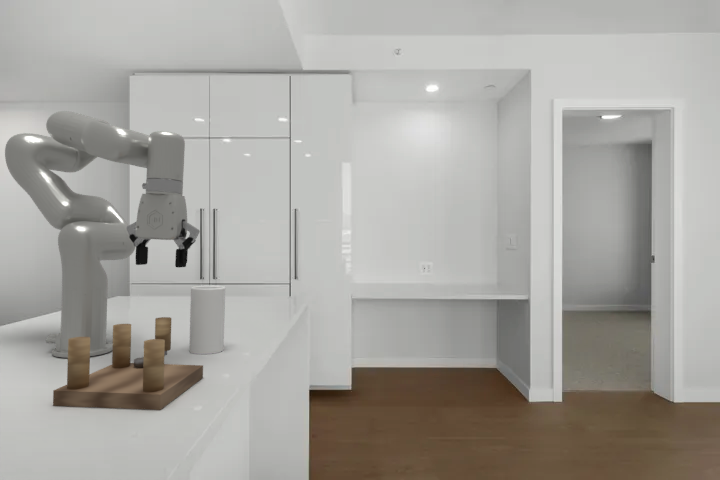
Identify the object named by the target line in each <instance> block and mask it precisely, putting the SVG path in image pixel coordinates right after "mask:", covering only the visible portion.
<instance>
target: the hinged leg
mask: <svg viewBox="0 0 720 480" xmlns="http://www.w3.org/2000/svg"><path fill="white" fill-rule="evenodd" d="M154 326H155V327H154V339H163V340H165V351H164V357H165V356H167V355H168V351H170V350H172V349H171V348H172V346H171V345H172V317H169V316H163V317H156V318H155V322H154ZM143 361H144V356H142V357H137V358H134V359H133V363H134V367H143Z"/></svg>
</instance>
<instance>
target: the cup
mask: <svg viewBox="0 0 720 480" xmlns="http://www.w3.org/2000/svg"><path fill="white" fill-rule="evenodd" d="M225 303H226V286H224V285H223V286H222V285H194V286H191V287H190V309H189V310H190V315H189V316H190V317H189V350H188V351H189V353H190V354H195V355H212V353H214V354H218V353H217V352H219V353H221V351H222V352H223V351H224V350H225V315H226V314H225V313H226V311H225V310H226V309H225V308H226V304H225Z"/></svg>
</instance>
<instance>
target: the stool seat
mask: <svg viewBox="0 0 720 480" xmlns="http://www.w3.org/2000/svg"><path fill="white" fill-rule="evenodd" d="M112 344H113V350H112V351H111V352H112V353H111V355H112V356H111V357H112V358H111V364H109V365H108V366H106V367H103V368H100V369H98V370H96V371H94V372H92V373H90V359H91V356H90V337H74V338H70V339H68V358H67V369H66V370H67V376H66V378H67V379H66V380H67V381H66V384H65V385H63V386H60V387H59V388H56V389H54V390H53V392H52V393H53V395H52V406H53V407H54V406H55V407H73V408H74V407H76V408H77V407H78V408H101V409H123V410H124V409H127V410H147V411H148V410H152V411H153V410H154V411H162V410H163V409H164V408H165V407H166V406H168V405H169V404H170V403H171V402H173V401H174V400H175V399H177V398H178V397H180V396H181V395H182V394H184V393H185V392H187V391H188V390H189V389H190V388H191V387H193V386H194V385H195V384H198V382H200V381H201V380H202V379H204V365H198V364H176V363H175V364H173V363H171V364H170V363H167V364H166V363H165V356H164V351H165V340H163V339H155V338H153V339H152V338H151V339H146V340H144V341H143V357H144V361H143V367H134V362H131V350H132V324H131V323H118V324H113V325H112Z"/></svg>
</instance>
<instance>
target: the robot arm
mask: <svg viewBox="0 0 720 480" xmlns="http://www.w3.org/2000/svg"><path fill="white" fill-rule="evenodd" d="M45 125H46V130H47V133H48V135H49V136H47V135H43V134H37V133H25V132H23V133H17V134H15V135H13V136H11V137H10V138H9V139H8V140H7V142H6V144H5V147H4V158H5V164H6V166H7V167H6V168H7V169H8V171H9V173H10V175H11V177H12V178H13V180H14V181H15V182H16V183H17V185H18V186H20V188H22V189H23V191H24V192H26V193H27V195H28V196H29V197H30V199H31V200H32V201H33V203H34V204H35V207H37V209H38V210H39V211H40V213H41V214H42V215H43V217H44V218H45V219H46V221H47V222H48V224H49V225H50V226H52V227H53V228H54V229H56V230H60V231H59V232H58V237H57V245H58V250H59V256H60V263H61V306H60V307H61V308H60V310H61V311H60V312H61V313H60V333H58V334H57V333H50V334H49V335H48V336H47V338H46V339H45V343H46V344H55V347H54V348H53V349H52V351H51V352H52V353H51V355H52V356H53V357H57V358H63V359H64V358H65V359H68V339H70V338H74V337H90V357H94V356H95V357H96V356H100V355H104V354H105V355H106V354H107V353H110V352H112V350H113V343H110V342H107V327H108V326H107V324H108V323H107V317H108V289H109V287H108V280H109V279H108V276H107V275H108V274H107V272H106V269H105V268H104V266H103V265H102V263H101V261H118V260H119V261H120V260H124V259H127V258H129V257H130V256H132V254H133V253H134V252H135V266H136V265H137V266H140V265H143V266H145V265H147V264H148V260H149V259H148V258H149V247H148V246H147V245H148V243H149V242H150V241H151V240H164V241H171V240H172V241H174V243H175V244H176V246H177V247H178V248H176V250H175V262H174V264H175V265H174V266H175V268H186V267H187V263H188V252H189V251H188V250H190V249H191V246H192V245H194V243H196V240H197V237H198V236H199V234H200V229H198V228H197V227H195V226H194V225H192V224H190V223H189V222H188V209H187V203H186V197H185V196H184V195H183V193H184V192H183V191H184V190H183V189H184V188H183V187H184V170H185V169H184V167H185V149H186V147H185V146H186V145H185V144H186V143H185V138H184V137H183V136H182V135H180V134H179V133H175V132H171V131H163V130H161V131H158V130H157V131H153V132H151V133H149V134H145V133H143V132H139V131H136V130H135V131H134V130H131V129H127V128H124V127H121V126H117V125H112V124H110V123H109V122H107V121H106V120H104V119H99V118H96V117H92V116H88V115H86V114H81V113H78V112H74V111H69V110H61V111H56V112H54V113H52V114H51V115H50V116H49V117H48V118H47V120H46V124H45ZM97 158H101V159H103V160H107V161H110V162H114V163H119V164H123V165H131V166H134V167H137V168H138V167H139V168H144V169H146V179H145V181H146V182H143V183H142V185H141V187H142V189H143V190H145V193H142V194H141V197H140V200H139V203H138V208H137V214H136V215H137V216H136V221H135V222H133V223H131V224H129V223H127V221H126V220H125V219H124V217H123V216H122V215H121V214H120V212H119V211H118V210H117V209H116V207H115V206H114V205H113V203H112V202H110V200H109V201H108V200H107V199H105V198H103V197H100V196H96V195H95V196H94V195H87V194H86V195H85V194H82V193H77V192H75V191H73V190H72V189H71V188H70V186H69V185H68V184H67V182H66V181H65V180H64V179H63V178H62V177H61V176H59V175H58V174H56V173H55V172H63V173H70V174H71V173H76V172H79V171H81V170H82V169H84V168H85V167H87V166H88V165H89V164H90V163H92V162H93V161H95V160H96V159H97ZM53 171H55V172H53ZM188 232H189V234H188V237H187V233H188ZM186 237H187V238H186Z"/></svg>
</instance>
